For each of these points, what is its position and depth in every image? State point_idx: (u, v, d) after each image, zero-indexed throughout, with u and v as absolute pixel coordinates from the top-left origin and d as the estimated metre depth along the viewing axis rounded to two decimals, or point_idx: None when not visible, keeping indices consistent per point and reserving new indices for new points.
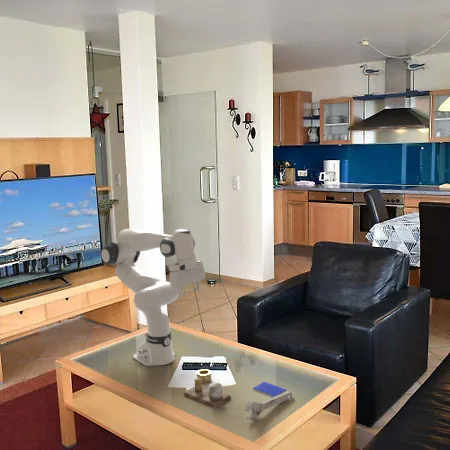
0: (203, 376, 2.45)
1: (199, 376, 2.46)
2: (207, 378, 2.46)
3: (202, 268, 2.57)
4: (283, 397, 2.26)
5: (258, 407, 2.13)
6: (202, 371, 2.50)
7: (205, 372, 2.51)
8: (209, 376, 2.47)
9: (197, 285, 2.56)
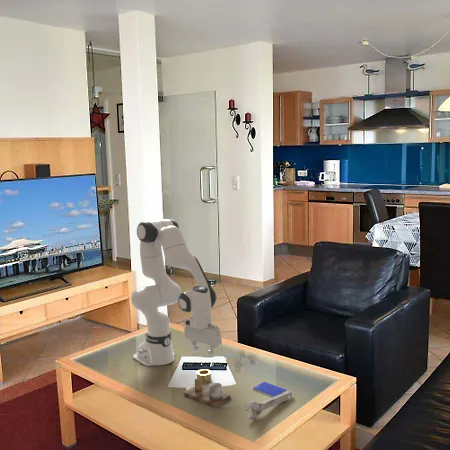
0: (203, 376, 2.45)
1: (199, 376, 2.46)
2: (207, 378, 2.46)
3: (213, 334, 2.38)
4: (283, 397, 2.26)
5: (258, 407, 2.13)
6: (202, 371, 2.50)
7: (205, 372, 2.51)
8: (209, 376, 2.47)
9: None
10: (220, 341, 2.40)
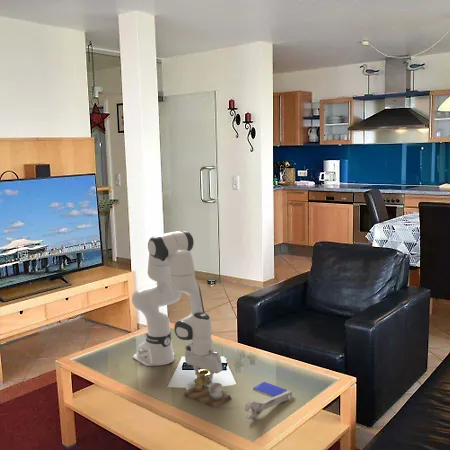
0: (203, 376, 2.45)
1: (199, 376, 2.46)
2: (207, 378, 2.46)
3: (213, 361, 2.40)
4: (283, 397, 2.26)
5: (258, 407, 2.13)
6: (202, 371, 2.51)
7: (205, 372, 2.51)
8: None
9: None
10: (220, 368, 2.42)
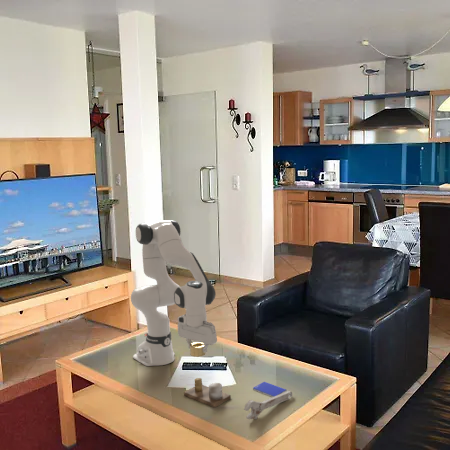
0: (197, 349, 2.30)
1: (192, 349, 2.31)
2: (201, 351, 2.31)
3: (208, 332, 2.25)
4: (283, 397, 2.26)
5: (258, 406, 2.13)
6: (196, 344, 2.35)
7: (199, 345, 2.35)
8: None
9: None
10: (215, 339, 2.27)
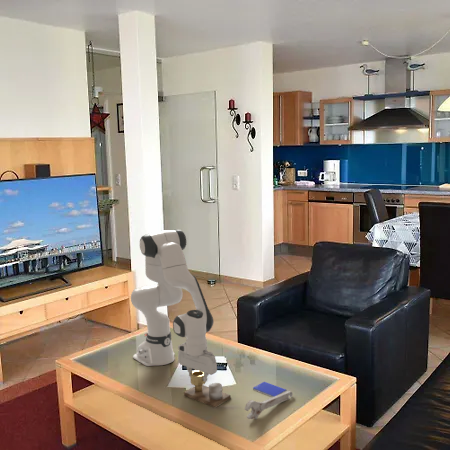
0: (197, 377, 2.31)
1: (193, 377, 2.32)
2: (201, 380, 2.32)
3: (208, 362, 2.27)
4: (283, 397, 2.26)
5: (258, 406, 2.13)
6: (196, 372, 2.37)
7: (199, 373, 2.37)
8: None
9: None
10: (215, 369, 2.28)
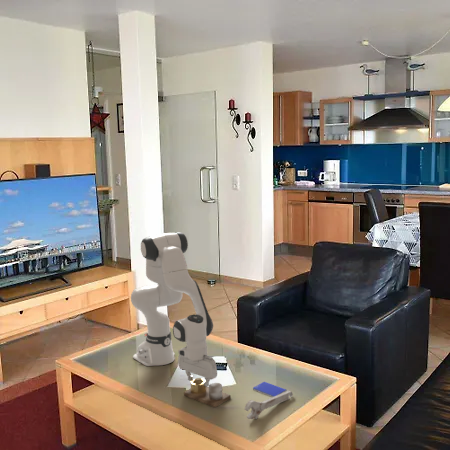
0: (197, 386, 2.32)
1: (193, 386, 2.33)
2: (201, 388, 2.33)
3: (208, 366, 2.27)
4: (283, 397, 2.26)
5: (258, 406, 2.13)
6: None
7: None
8: (204, 386, 2.34)
9: None
10: (215, 373, 2.28)
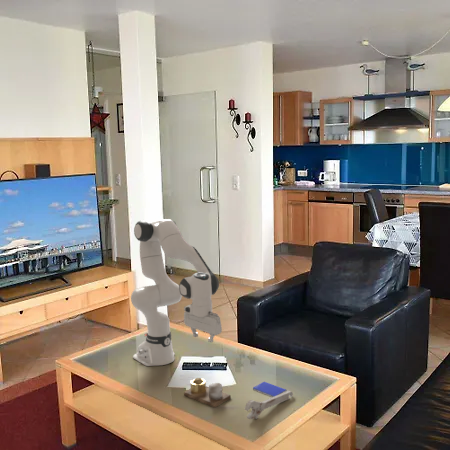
0: (197, 386, 2.32)
1: (193, 386, 2.33)
2: (201, 388, 2.33)
3: (213, 322, 2.33)
4: (283, 397, 2.26)
5: (258, 406, 2.13)
6: None
7: None
8: (204, 386, 2.34)
9: None
10: (220, 329, 2.34)
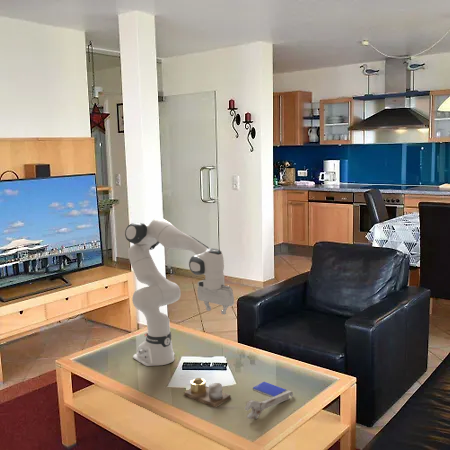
0: (197, 386, 2.32)
1: (193, 386, 2.33)
2: (201, 388, 2.33)
3: (226, 294, 2.46)
4: (284, 397, 2.26)
5: (258, 406, 2.13)
6: None
7: None
8: (204, 386, 2.34)
9: None
10: (233, 301, 2.48)
